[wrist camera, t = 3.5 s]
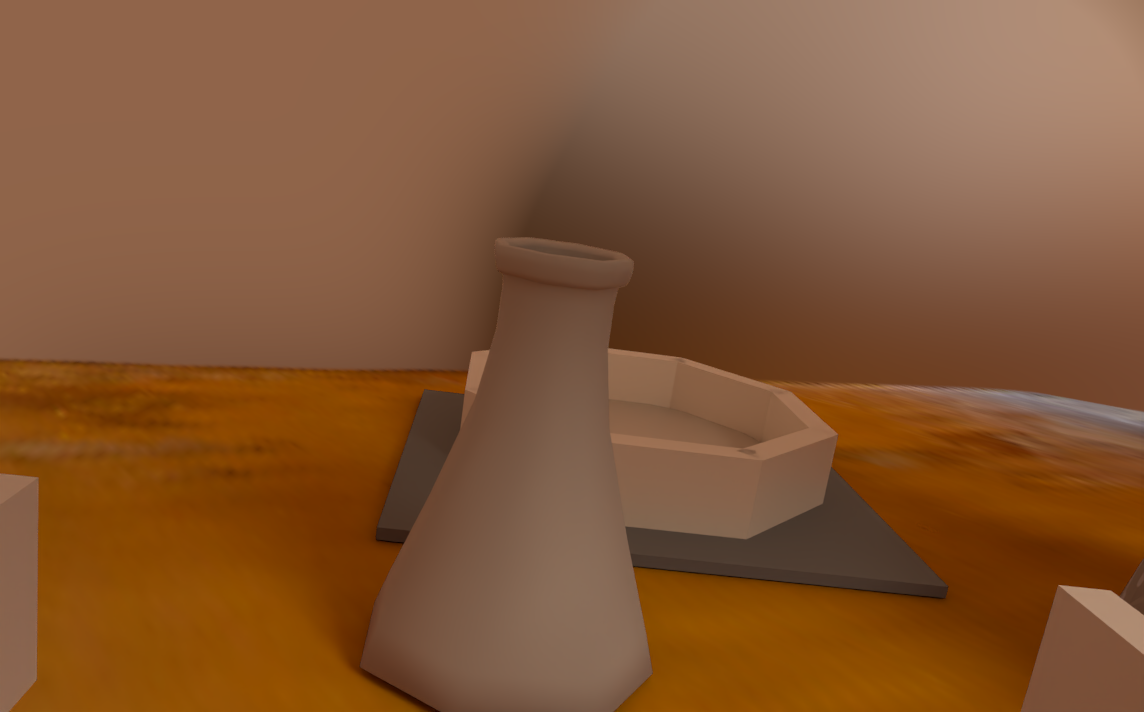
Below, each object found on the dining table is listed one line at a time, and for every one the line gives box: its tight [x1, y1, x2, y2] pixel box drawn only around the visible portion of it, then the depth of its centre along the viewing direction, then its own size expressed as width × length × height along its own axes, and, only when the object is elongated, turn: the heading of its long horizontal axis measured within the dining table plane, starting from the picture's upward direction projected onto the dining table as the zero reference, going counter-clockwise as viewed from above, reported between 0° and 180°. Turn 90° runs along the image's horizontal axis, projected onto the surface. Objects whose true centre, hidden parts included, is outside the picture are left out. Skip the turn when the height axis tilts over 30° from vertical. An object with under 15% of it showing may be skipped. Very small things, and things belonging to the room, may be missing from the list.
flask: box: [360, 237, 653, 712], centre depth 21 cm, size 7×7×10 cm
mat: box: [376, 389, 948, 598], centre depth 35 cm, size 18×15×1 cm
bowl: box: [460, 348, 838, 539], centre depth 36 cm, size 14×14×3 cm
